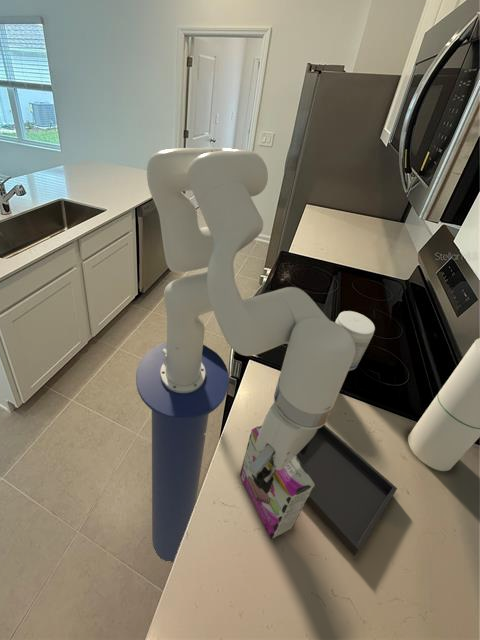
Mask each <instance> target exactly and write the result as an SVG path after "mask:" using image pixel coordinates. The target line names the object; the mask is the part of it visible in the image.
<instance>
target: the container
mask: <svg viewBox="0 0 480 640" xmlns="http://www.w3.org/2000/svg"><path fill="white" fill-rule="evenodd" d="M479 438H480V337H479V338H476V339H475V340H474V341H473V343H472V344H471V346H470V347H469V349H468V350H467V352H466V353H465V354H464V356H463V357H462V359H461V360H460V362H459V363H458V365H457V366H456V367H455V369H454V370H453V372H452V373H451V375H450V376H449V377H448V379H447V380H446V381H445V383H444V384H443V385H442V387H441V388H440V390H439V391H438V393H437V394H436V395H435V397H434V398H433V400H432V401H431V403H430V404H429V406H428V407H427V408H426V409H425V411H424V413H423V414H422V416H421V417H420V418H419V420H418V421H417V422H416V424H415V425H414V427H413V428H412V430H411V431H410V433H409V434H408V436H407V444H408V446H409V448H410V450H411V452H412V453H413V454H414V455H415V457H417V459H418V460H420V462H422V463H423V464H424V465H425V466H428V467H429V468H431V469H433V470H436V471H440V472H447V471H450V470H451V469H452V468H453V467H454V466H456V464H457V463H458V461H459V460H461V458H462V457H463V456H464V455H465V454H466V453H467V452H468V451H469V449H470V448H471V447H472V446H473V445H474V444H475V443H476V442H477V441H478V440H479Z"/></svg>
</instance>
